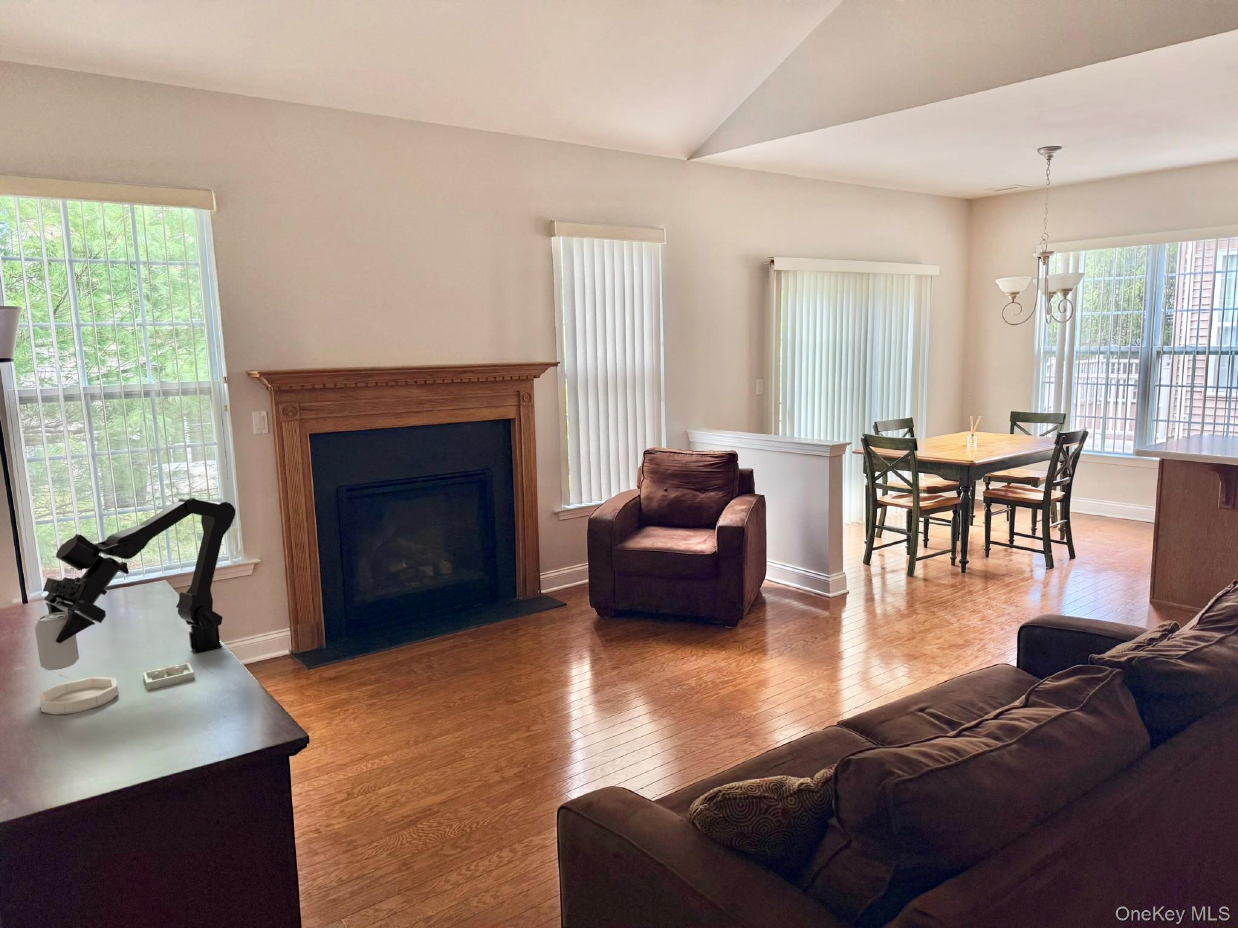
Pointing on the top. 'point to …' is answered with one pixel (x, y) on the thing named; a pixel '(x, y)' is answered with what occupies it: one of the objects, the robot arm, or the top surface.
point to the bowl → (78, 695)
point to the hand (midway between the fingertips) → (50, 639)
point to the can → (48, 648)
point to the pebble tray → (168, 677)
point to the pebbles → (167, 672)
